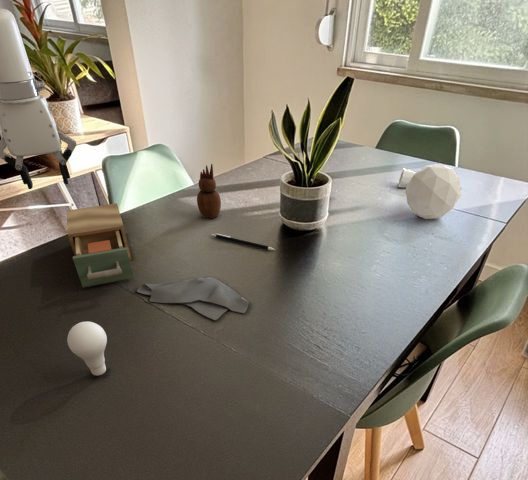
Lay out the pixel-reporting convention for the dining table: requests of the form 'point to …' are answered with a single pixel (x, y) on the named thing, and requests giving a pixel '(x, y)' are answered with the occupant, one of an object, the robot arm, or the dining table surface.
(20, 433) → the dining table surface
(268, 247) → the pen
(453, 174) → the geometric sphere
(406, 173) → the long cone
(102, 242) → the block
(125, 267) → the drawer
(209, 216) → the wooden figurine
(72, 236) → the cabinet
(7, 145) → the robot arm
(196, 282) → the cloth
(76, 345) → the lightbulb
